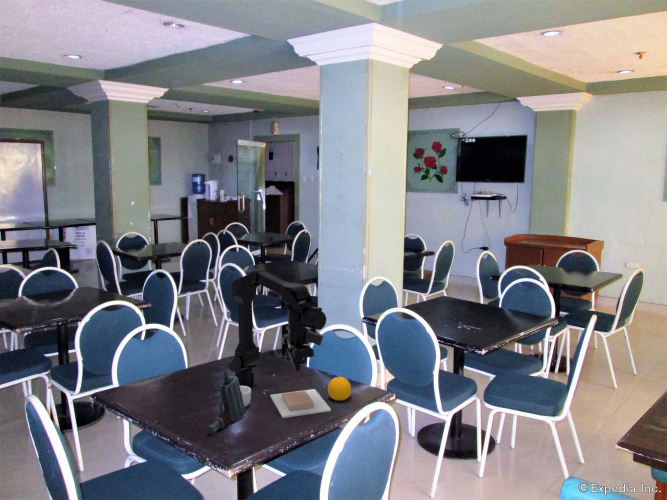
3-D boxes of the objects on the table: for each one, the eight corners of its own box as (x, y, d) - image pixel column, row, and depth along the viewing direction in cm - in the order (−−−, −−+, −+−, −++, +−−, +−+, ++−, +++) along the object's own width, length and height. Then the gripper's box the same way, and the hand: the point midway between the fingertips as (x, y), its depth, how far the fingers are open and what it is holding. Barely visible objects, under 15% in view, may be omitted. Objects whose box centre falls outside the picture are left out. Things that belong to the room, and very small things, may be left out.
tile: (282, 399, 182) (289, 411, 173) (282, 393, 182) (289, 405, 172) (305, 396, 185) (313, 407, 175) (305, 390, 184) (313, 402, 175)
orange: (348, 404, 180) (348, 382, 179) (325, 402, 181) (325, 380, 180) (352, 394, 187) (352, 374, 186) (330, 393, 189) (330, 372, 188)
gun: (197, 392, 154) (230, 364, 166) (209, 440, 160) (240, 409, 172) (204, 394, 153) (237, 365, 165) (216, 442, 159) (247, 411, 171)
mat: (282, 418, 169) (282, 416, 169) (270, 396, 186) (270, 394, 186) (331, 411, 174) (331, 409, 174) (314, 390, 191) (314, 389, 191)
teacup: (236, 399, 184) (236, 384, 183) (255, 403, 180) (255, 387, 180) (218, 410, 175) (218, 394, 174) (238, 415, 171) (238, 398, 171)
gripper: (329, 329, 169) (329, 377, 171) (312, 315, 187) (312, 359, 189) (295, 332, 166) (295, 381, 168) (280, 318, 183) (281, 362, 185)
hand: (297, 370), depth 177 cm, fingers closed
